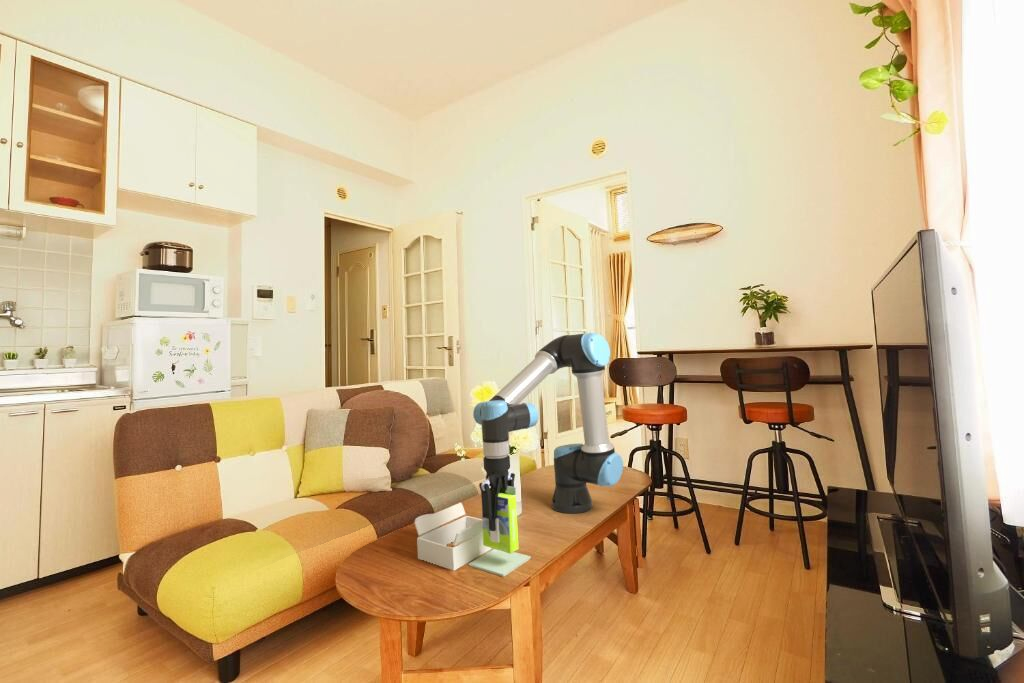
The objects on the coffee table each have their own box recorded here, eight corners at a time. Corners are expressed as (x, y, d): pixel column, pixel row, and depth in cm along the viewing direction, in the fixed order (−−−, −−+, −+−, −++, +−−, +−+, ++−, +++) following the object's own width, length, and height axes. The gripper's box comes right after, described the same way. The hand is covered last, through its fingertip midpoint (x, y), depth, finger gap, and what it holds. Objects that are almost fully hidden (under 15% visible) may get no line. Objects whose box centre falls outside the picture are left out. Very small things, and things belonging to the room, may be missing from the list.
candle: (414, 535, 154) (413, 516, 155) (441, 530, 157) (440, 512, 157) (417, 545, 146) (416, 525, 146) (445, 540, 149) (444, 520, 149)
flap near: (498, 521, 144) (501, 510, 143) (499, 522, 144) (503, 511, 143) (453, 544, 128) (456, 532, 127) (454, 545, 128) (458, 533, 127)
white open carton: (466, 533, 153) (465, 515, 153) (501, 543, 144) (500, 523, 144) (417, 558, 136) (416, 538, 136) (453, 570, 127) (452, 548, 128)
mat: (496, 549, 140) (496, 547, 140) (530, 558, 132) (530, 556, 132) (468, 565, 130) (468, 563, 130) (503, 576, 122) (503, 574, 122)
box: (482, 546, 132) (479, 485, 133) (492, 541, 136) (489, 482, 136) (510, 554, 126) (507, 490, 126) (520, 549, 129) (517, 487, 129)
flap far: (464, 514, 153) (460, 502, 154) (465, 514, 153) (461, 502, 154) (418, 535, 137) (413, 522, 138) (419, 535, 137) (414, 521, 138)
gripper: (504, 448, 140) (508, 526, 140) (466, 460, 127) (470, 546, 126) (524, 450, 136) (528, 530, 135) (486, 463, 122) (491, 552, 122)
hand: (500, 538), depth 131 cm, fingers closed on box, 4 cm apart
